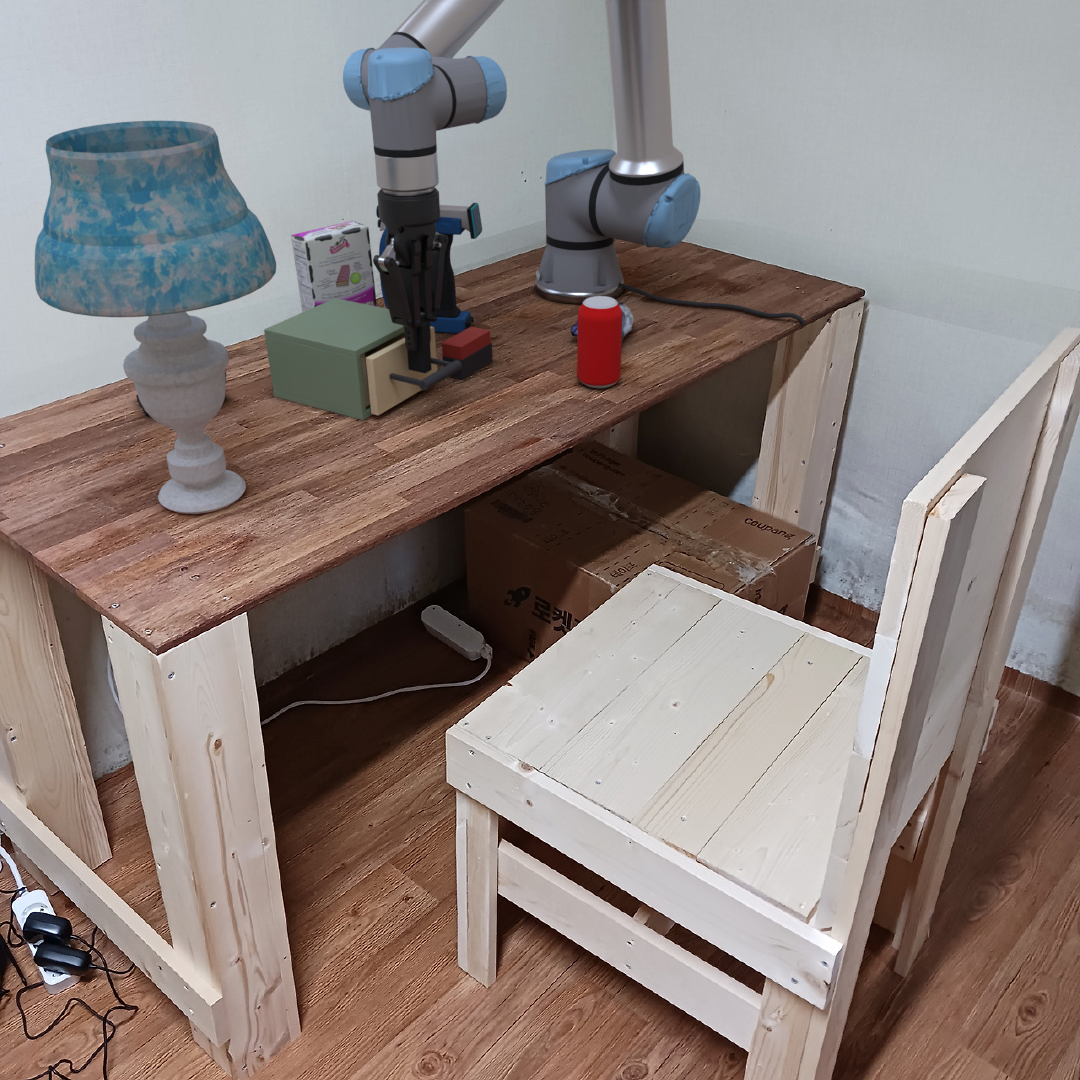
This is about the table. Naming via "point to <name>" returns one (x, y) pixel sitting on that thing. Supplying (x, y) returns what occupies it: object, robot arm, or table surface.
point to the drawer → (398, 374)
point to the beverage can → (599, 342)
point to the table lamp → (156, 273)
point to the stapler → (468, 351)
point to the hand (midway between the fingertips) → (420, 369)
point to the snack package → (626, 322)
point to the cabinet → (327, 354)
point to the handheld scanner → (448, 264)
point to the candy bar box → (334, 265)
